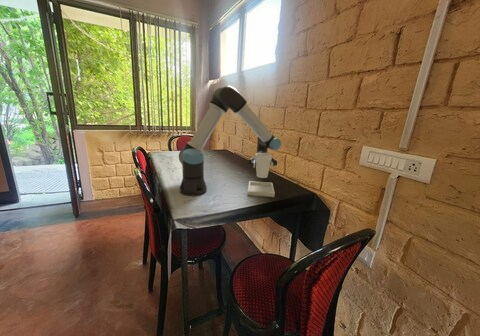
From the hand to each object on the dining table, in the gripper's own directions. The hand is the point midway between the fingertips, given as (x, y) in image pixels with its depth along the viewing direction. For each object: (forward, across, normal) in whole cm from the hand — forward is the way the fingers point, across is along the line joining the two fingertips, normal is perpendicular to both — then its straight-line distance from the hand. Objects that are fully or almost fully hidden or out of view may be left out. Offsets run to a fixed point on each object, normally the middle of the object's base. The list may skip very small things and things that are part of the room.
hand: (263, 165), depth 112 cm
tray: (-5, 0, -17) cm, 18 cm away
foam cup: (-4, 0, -8) cm, 9 cm away
